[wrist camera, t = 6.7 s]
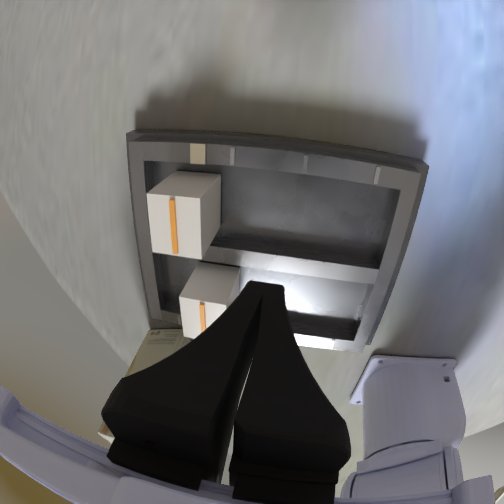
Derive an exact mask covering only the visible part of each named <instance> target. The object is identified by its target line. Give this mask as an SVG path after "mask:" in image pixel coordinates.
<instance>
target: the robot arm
mask: <svg viewBox="0 0 504 504" xmlns="http://www.w3.org/2000/svg"><path fill="white" fill-rule="evenodd" d="M252 359H253V360H252ZM251 362H252V363H251ZM456 364H457V362H456V360H455V359H434V358H413V357H397V356H383V355H374V356H372V357H371V358H370V360H369V362H368V364H367V366H366V368H365V370H364V372H363V374H362V376H361V378H360V380H359V382H358V384H357V386H356V388H355V390H354V392H353V394H352V396H351V398H350V403H351V404H358V405H362V406H363V446H364V460H363V461H359V462H357V472H353V473H351V474H350V475H349V477H348V478H347V480H346V481H345V483H344V485H343V487H342V491H341V496H340V498H335V485H336V484H337V483H338V476H339V470H340V469H341V468H342V467H343V466H344V465H345V464H346V463H347V462H348V461H349V459H350V457H351V444H350V437H349V433H348V429H347V425H346V422H345V420H344V419H343V418H342V417H341V416H340V414H339V413H338V412H337V411H336V409H335V408H334V407H333V406H332V404H331V403H330V402H329V400H328V399H327V397H326V396H325V394H324V393H323V392H322V390H321V388H320V387H319V385H318V383H317V382H316V380H315V378H314V377H313V375H312V374H311V372H310V370H309V368H308V366H307V364H306V362H305V360H304V358H303V356H302V353H301V351H300V349H299V346H298V344H297V341H296V338H295V336H294V333H293V330H292V327H291V323H290V320H289V316H288V312H287V307H286V302H285V288H284V286H283V285H279V284H272V283H266V282H259V281H253V280H250V281H248V282H247V284H246V285H245V287H244V288H243V290H242V291H241V292H240V294H239V295H238V296H237V297H236V299H235V300H234V301H233V302H232V303H231V304H230V305H229V307H228V308H227V309H226V310H225V311H224V312H223V313H222V314H221V315H220V316H219V317H218V318H217V319H216V320H215V321H214V322H213V323H212V324H211V325H210V326H209V327H208V328H207V329H205V330H204V331H203V332H202V333H201V334H200V335H198V336H197V337H196V338H194V339H193V340H192V341H191V342H189V343H188V344H186V345H185V346H183V347H182V348H181V349H179V350H178V351H176V352H175V353H173V354H171V355H170V356H168V357H166V358H164V359H162V360H161V361H159V362H157V363H155V364H153V365H152V366H150V367H147V368H145V369H143V370H141V371H138V372H136V373H134V374H131V375H129V376H127V377H124V378H122V379H121V380H120V382H119V383H118V384H117V386H116V387H115V388H114V390H113V391H112V393H111V394H110V396H109V398H108V400H107V402H106V404H105V406H104V407H103V409H102V412H101V415H102V418H103V420H104V422H105V424H106V425H107V427H108V428H109V430H110V431H111V433H112V434H113V436H114V437H115V438H114V440H113V442H112V445H111V447H110V449H107V448H104V447H102V446H100V445H98V444H95V443H93V442H91V441H88V440H86V439H84V438H82V437H80V436H78V435H76V434H74V433H72V432H70V431H68V430H66V429H64V428H62V427H60V426H58V425H56V424H54V423H52V422H50V421H48V420H47V419H45V418H43V417H41V416H39V415H38V414H36V413H34V412H32V411H31V410H29V409H27V408H26V407H24V406H22V405H21V404H20V402H19V401H18V399H16V397H15V396H14V395H13V394H12V393H11V392H10V391H8V390H7V389H5V388H4V387H3V386H1V385H0V455H1V456H2V457H3V458H4V459H6V460H7V461H8V462H10V463H11V464H13V465H14V466H15V467H17V468H18V469H20V470H21V471H22V472H24V473H25V474H27V475H28V476H30V477H31V478H33V479H34V480H36V481H37V482H39V483H40V484H42V485H43V486H45V487H47V488H48V489H50V490H52V491H53V492H55V493H57V494H58V495H60V496H62V497H63V498H65V499H67V500H69V501H71V502H72V503H74V504H495V496H494V489H493V481H492V476H491V475H488V476H483V477H479V478H474V479H470V480H466V481H463V473H462V466H461V461H460V455H459V451H458V449H457V448H458V447H459V445H460V443H461V441H462V439H463V437H464V433H465V426H466V416H465V410H464V406H463V402H462V398H461V394H460V390H459V387H458V383H457V379H456V376H455V372H454V367H455V366H456ZM250 365H251V367H250ZM249 368H250V371H249ZM248 371H249V374H248ZM247 374H248V378H247V381H246V384H245V388H244V391H243V394H242V397H241V400H240V396H241V392H242V389H243V386H244V383H245V380H246V377H247ZM239 400H240V404H239ZM238 404H239V407H238ZM237 408H238V410H237ZM233 426H234V441H233V454H232V458H231V462H230V466H229V479H230V480H229V481H230V482H229V486H228V485H224V484H221V480H222V475H223V471H224V466H225V461H226V457H227V452H228V448H229V443H230V439H231V435H232V430H233Z"/></svg>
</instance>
